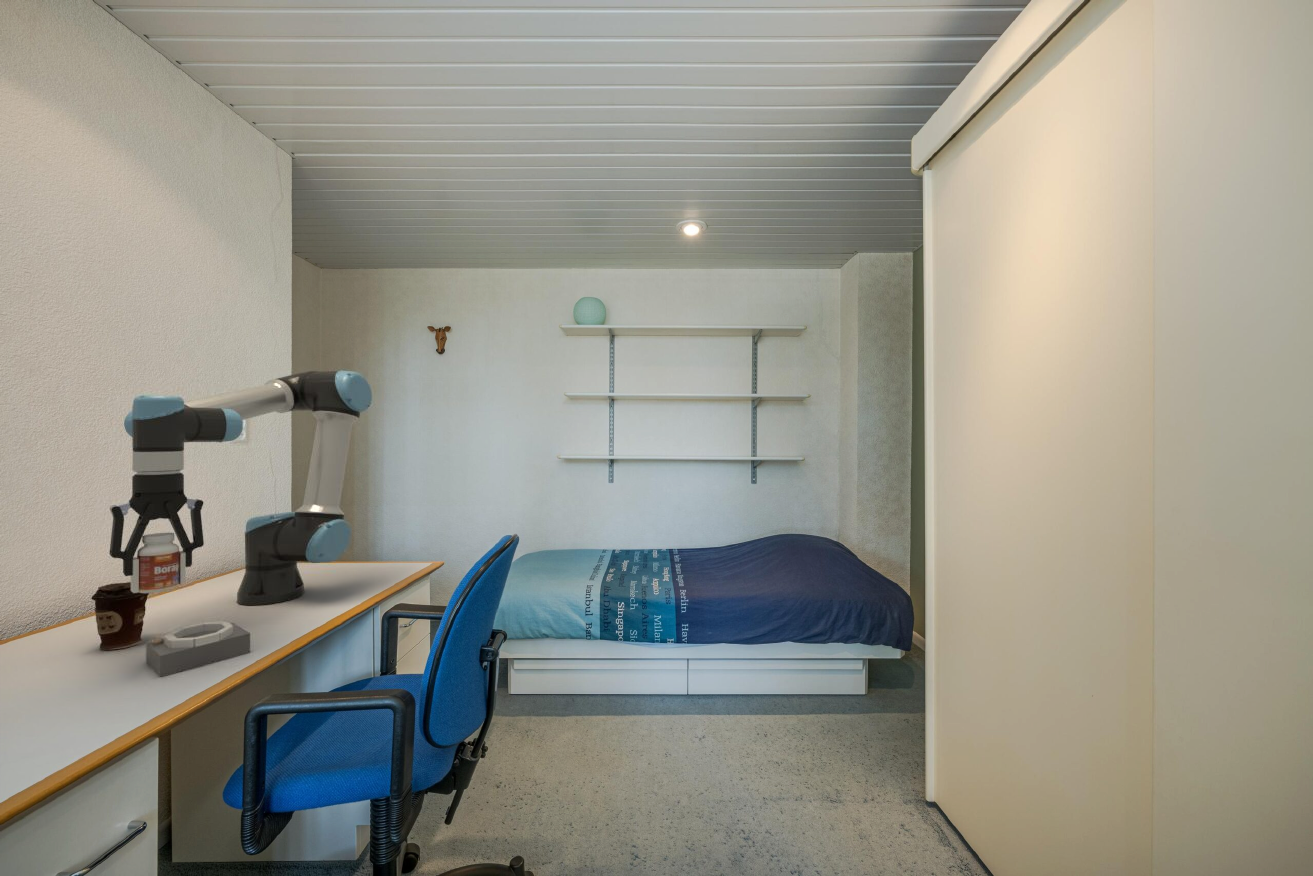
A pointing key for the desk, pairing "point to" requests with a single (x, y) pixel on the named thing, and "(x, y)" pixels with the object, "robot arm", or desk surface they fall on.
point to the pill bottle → (158, 563)
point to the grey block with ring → (196, 647)
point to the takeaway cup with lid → (119, 615)
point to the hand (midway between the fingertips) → (158, 587)
